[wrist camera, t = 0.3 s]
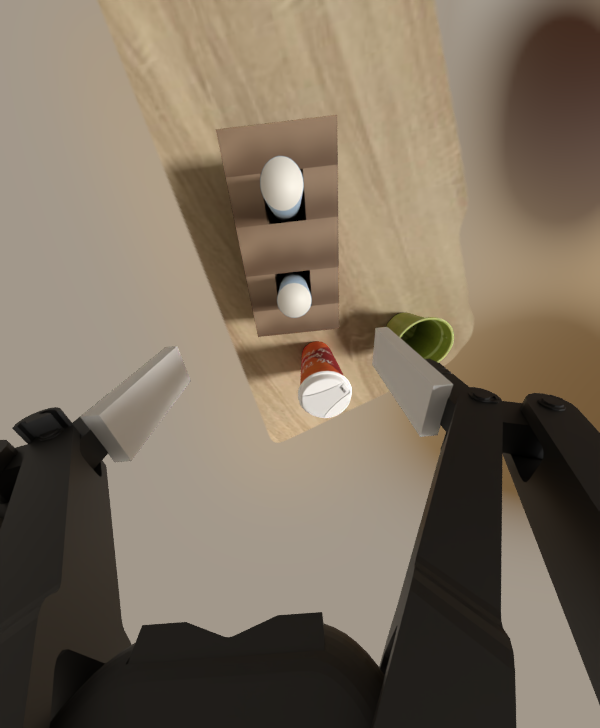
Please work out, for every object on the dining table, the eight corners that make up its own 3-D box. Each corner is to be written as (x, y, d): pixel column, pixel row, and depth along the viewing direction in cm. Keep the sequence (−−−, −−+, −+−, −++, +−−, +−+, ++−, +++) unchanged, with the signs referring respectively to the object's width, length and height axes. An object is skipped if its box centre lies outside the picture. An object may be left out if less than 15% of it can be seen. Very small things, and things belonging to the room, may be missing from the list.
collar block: (238, 162, 30) (215, 129, 21) (324, 152, 30) (337, 114, 21) (265, 316, 41) (258, 336, 32) (329, 310, 41) (339, 328, 32)
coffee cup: (321, 327, 42) (334, 365, 29) (343, 357, 46) (364, 403, 32) (287, 351, 45) (285, 396, 31) (311, 378, 48) (318, 429, 35)
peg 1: (268, 186, 27) (256, 158, 18) (298, 183, 27) (301, 153, 18) (272, 222, 29) (264, 213, 20) (301, 219, 29) (305, 208, 20)
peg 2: (279, 273, 32) (274, 284, 23) (305, 270, 32) (310, 280, 23) (282, 299, 33) (279, 319, 25) (307, 297, 33) (312, 316, 25)
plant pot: (424, 343, 45) (451, 364, 37) (378, 353, 45) (395, 375, 38) (426, 298, 40) (457, 311, 33) (375, 310, 41) (393, 325, 33)
